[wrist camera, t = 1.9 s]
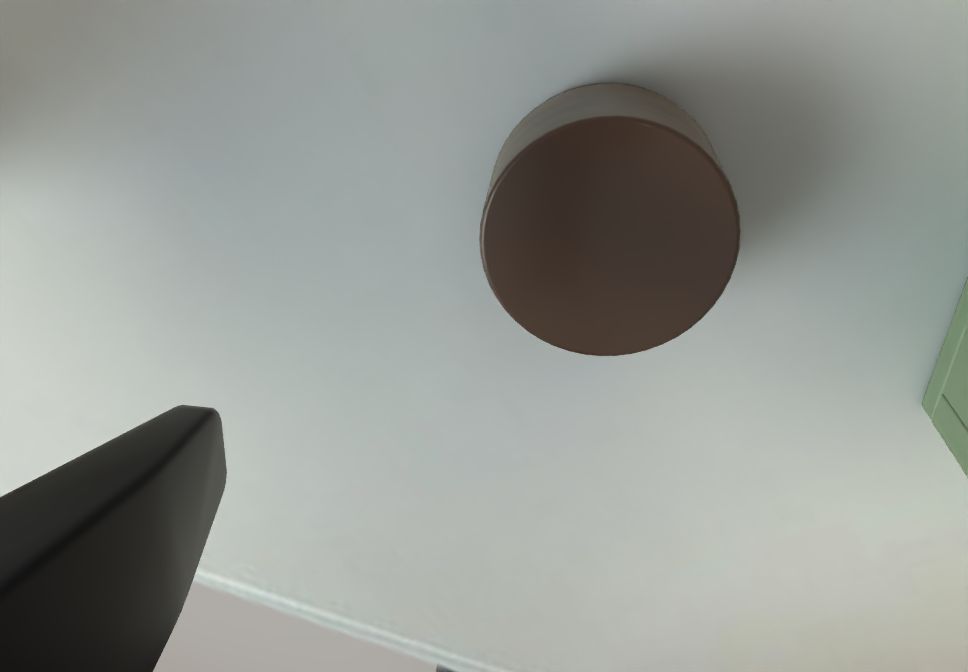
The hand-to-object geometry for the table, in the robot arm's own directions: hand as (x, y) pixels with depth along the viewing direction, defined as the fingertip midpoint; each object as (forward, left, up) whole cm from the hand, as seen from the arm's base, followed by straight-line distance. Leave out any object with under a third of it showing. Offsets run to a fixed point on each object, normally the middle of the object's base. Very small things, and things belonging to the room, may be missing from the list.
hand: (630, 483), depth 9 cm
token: (0, 0, -9) cm, 9 cm away
